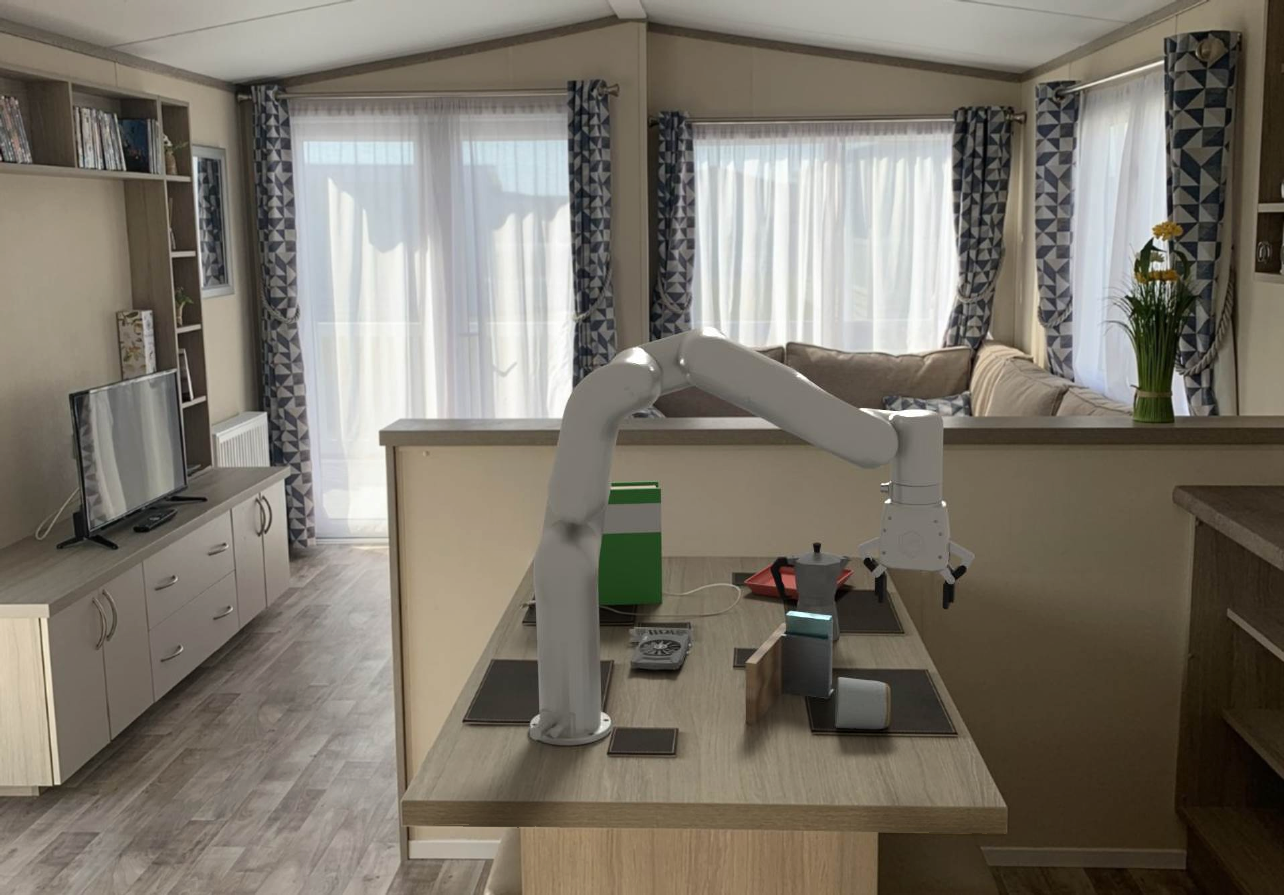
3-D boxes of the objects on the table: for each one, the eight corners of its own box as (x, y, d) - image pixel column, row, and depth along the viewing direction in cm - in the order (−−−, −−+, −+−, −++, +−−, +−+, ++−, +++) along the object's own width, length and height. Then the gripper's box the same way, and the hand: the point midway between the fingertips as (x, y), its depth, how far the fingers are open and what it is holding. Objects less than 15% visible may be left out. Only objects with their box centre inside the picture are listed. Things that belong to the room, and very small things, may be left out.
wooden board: (755, 724, 193) (755, 663, 191) (745, 723, 193) (745, 662, 192) (791, 680, 211) (791, 623, 209) (782, 678, 211) (782, 622, 210)
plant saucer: (742, 596, 259) (742, 580, 258) (776, 573, 274) (776, 559, 273) (824, 608, 250) (824, 592, 249) (854, 584, 265) (855, 569, 265)
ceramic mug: (891, 736, 188) (892, 688, 186) (836, 735, 188) (837, 687, 187) (884, 710, 198) (885, 664, 197) (833, 709, 199) (833, 663, 198)
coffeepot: (841, 625, 239) (843, 534, 235) (857, 641, 229) (859, 547, 226) (763, 630, 236) (764, 538, 233) (776, 646, 227) (777, 551, 224)
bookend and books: (828, 699, 202) (829, 623, 200) (781, 692, 205) (781, 617, 203) (837, 686, 208) (838, 612, 205) (791, 680, 211) (791, 607, 208)
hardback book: (659, 592, 261) (657, 480, 256) (662, 603, 254) (660, 488, 249) (575, 595, 260) (572, 483, 255) (575, 606, 252) (572, 490, 248)
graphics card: (630, 625, 231) (694, 626, 229) (631, 644, 232) (695, 645, 230) (613, 658, 215) (681, 659, 213) (614, 678, 216) (682, 680, 213)
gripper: (852, 495, 184) (852, 605, 188) (972, 502, 178) (969, 616, 181) (863, 484, 191) (862, 591, 194) (979, 491, 185) (976, 601, 188)
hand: (914, 603), depth 188 cm, fingers open, 9 cm apart
